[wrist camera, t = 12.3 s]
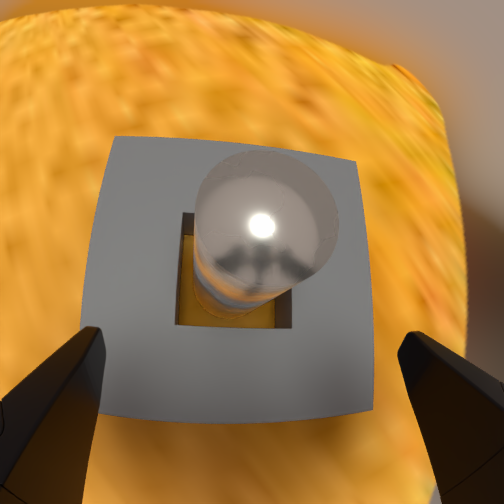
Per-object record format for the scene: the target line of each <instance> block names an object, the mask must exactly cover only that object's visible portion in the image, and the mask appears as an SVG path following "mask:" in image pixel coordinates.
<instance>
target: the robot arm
mask: <svg viewBox="0 0 504 504" xmlns="http://www.w3.org/2000/svg"><path fill="white" fill-rule="evenodd" d="M397 356H398V360H399V364H400V367H401V371H402V375H403V378H404V382H405V386H406V389H407V393H408V396H409V399H410V402H411V405H412V408H413V410H414V413H415V416H416V419H417V422H418V425H419V428H420V431H421V434H422V437H423V440H424V443H425V446H426V449H427V452H428V455H429V459H430V462H431V465H432V469H433V472H434V476H435V479H436V483H437V486H438V490H439V493H440V496H441V497H440V498H441V502H442V504H504V384H503V383H502V382H499V380H497V379H495V378H494V377H493V376H491V375H489V374H488V373H486V372H485V371H483V370H481V369H480V368H478V367H477V366H475V365H474V364H472V363H470V362H469V361H467V360H466V359H464V358H463V357H461V356H459V355H458V354H456V353H455V352H453V351H451V350H450V349H448V348H446V347H445V346H443V345H442V344H440V343H438V342H437V341H435V340H434V339H432V338H430V337H429V336H427V335H425V334H424V333H422V332H420V331H411V332H408V333H407V335H406V336H405V338H404V340H403V342H402V344H401V346H400V348H399V349H398V354H397ZM105 362H106V347H105V342H104V338H103V333H102V330H101V328H99V327H94V326H86V327H84V328H83V329H82V330H80V331H79V332H78V333H77V334H76V335H74V336H73V337H72V338H71V339H70V340H68V341H67V342H66V343H65V344H64V345H62V346H61V347H60V348H59V349H58V350H57V351H55V352H54V353H53V354H52V355H51V356H49V357H48V358H47V359H46V360H45V361H44V362H43V363H41V364H40V365H39V366H38V367H37V368H36V369H34V370H33V371H32V372H31V373H30V374H29V375H28V376H27V377H25V378H24V379H23V380H22V381H21V382H20V383H19V384H18V385H16V386H15V387H14V388H13V389H12V390H11V391H10V392H9V393H8V394H6V395H5V396H4V397H3V398H2V401H0V504H82V500H83V492H84V485H85V479H86V473H87V467H88V461H89V455H90V450H91V445H92V440H93V435H94V430H95V425H96V421H97V416H98V412H99V407H100V400H101V392H102V384H103V376H104V369H105Z"/></svg>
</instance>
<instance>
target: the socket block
mask: <svg viewBox="0 0 504 504" xmlns="http://www.w3.org/2000/svg"><path fill="white" fill-rule="evenodd" d="M253 150H267V151H274V152H279V153H283V154H285V155H288V156H291V157H293V158H295V159H297V160H299V161H301V162H302V163H304V164H306V165H307V166H308V167H309V168H311V169H312V170H313V171H314V172H315V173H316V174H317V175H318V176H319V177H320V178H321V179H322V180H323V181H324V183H325V184H326V186H327V187H328V189H329V190H330V192H331V194H332V196H333V198H334V201H335V204H336V207H337V211H338V216H339V234H338V240H337V243H336V246H335V249H334V251H333V253H332V255H331V257H330V258H329V260H328V261H327V263H326V264H325V265H324V266H323V267H322V268H321V269H320V270H319V271H318V272H316V273H315V274H314V275H312V276H311V277H309V278H307V279H306V280H304V281H302V282H301V283H299V284H297V285H296V286H294V287H292V288H291V289H289V290H287V291H286V292H284V293H282V294H280V295H279V296H277V297H275V329H262V328H225V327H202V326H185V325H178V315H179V295H180V279H181V264H182V251H183V239H184V234H186V235H194V219H195V202H196V197H197V193H198V191H199V188H200V186H201V184H202V182H203V180H204V178H205V177H206V176H207V174H208V173H209V172H210V171H211V170H212V169H213V168H214V167H215V166H216V165H217V164H219V163H220V162H221V161H223V160H224V159H226V158H228V157H230V156H232V155H235V154H238V153H241V152H246V151H253ZM86 326H94V327H99V328H101V330H102V333H103V338H104V342H105V347H106V362H105V369H104V376H103V384H102V392H101V400H100V407H99V412H98V413H100V414H106V415H112V416H119V417H127V418H135V419H144V420H154V421H166V422H181V423H205V424H246V423H271V422H286V421H298V420H308V419H317V418H325V417H333V416H340V415H347V414H353V413H359V412H365V411H370V410H373V392H374V330H373V305H372V288H371V275H370V263H369V252H368V242H367V233H366V225H365V217H364V209H363V202H362V195H361V189H360V182H359V176H358V170H357V165H356V161H351V160H346V159H340V158H335V157H330V156H324V155H319V154H313V153H307V152H301V151H294V150H288V149H281V148H274V147H266V146H258V145H250V144H241V143H232V142H221V141H210V140H198V139H183V138H164V137H134V136H115V138H114V141H113V144H112V148H111V151H110V155H109V158H108V162H107V166H106V169H105V173H104V177H103V181H102V185H101V190H100V194H99V198H98V203H97V208H96V212H95V217H94V223H93V228H92V233H91V239H90V245H89V251H88V258H87V265H86V272H85V280H84V289H83V298H82V309H81V322H80V330H82V329H83V328H84V327H86Z"/></svg>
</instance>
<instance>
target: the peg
mask: <svg viewBox="0 0 504 504" xmlns="http://www.w3.org/2000/svg"><path fill="white" fill-rule="evenodd" d="M338 234H339V216H338V211H337V207H336V204H335V201H334V198H333V196H332V194H331V192H330V190H329V189H328V187H327V186H326V184H325V183H324V181H323V180H322V179H321V178H320V177H319V176H318V175H317V174H316V173H315V172H314V171H313V170H312V169H311V168H309V167H308V166H307V165H306V164H304V163H302V162H301V161H299V160H297V159H295V158H293V157H291V156H288V155H285V154H283V153H279V152H274V151H267V150H253V151H246V152H241V153H238V154H235V155H232V156H230V157H228V158H226V159H224V160H223V161H221V162H220V163H219V164H217V165H216V166H215V167H214V168H213V169H212V170H211V171H210V172H209V173H208V174H207V176H206V177H205V178H204V180H203V182H202V184H201V186H200V188H199V191H198V193H197V197H196V202H195V219H194V255H193V289H194V293H195V296H196V299H197V300H198V302H199V304H200V305H201V306H202V307H203V308H204V309H205V310H206V311H207V312H208V313H210V314H212V315H214V316H216V317H219V318H224V319H234V318H239V317H242V316H244V315H246V314H248V313H249V312H251V311H253V310H255V309H256V308H258V307H260V306H262V305H263V304H265V303H267V302H268V301H270V300H272V299H274V298H275V297H277V296H279V295H280V294H282V293H284V292H286V291H287V290H289V289H291V288H292V287H294V286H296V285H297V284H299V283H301V282H302V281H304V280H306V279H307V278H309V277H311V276H312V275H314V274H315V273H316V272H318V271H319V270H320V269H321V268H322V267H323V266H324V265H325V264H326V263H327V261H328V260H329V258H330V257H331V255H332V253H333V251H334V249H335V246H336V243H337V240H338Z"/></svg>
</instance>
